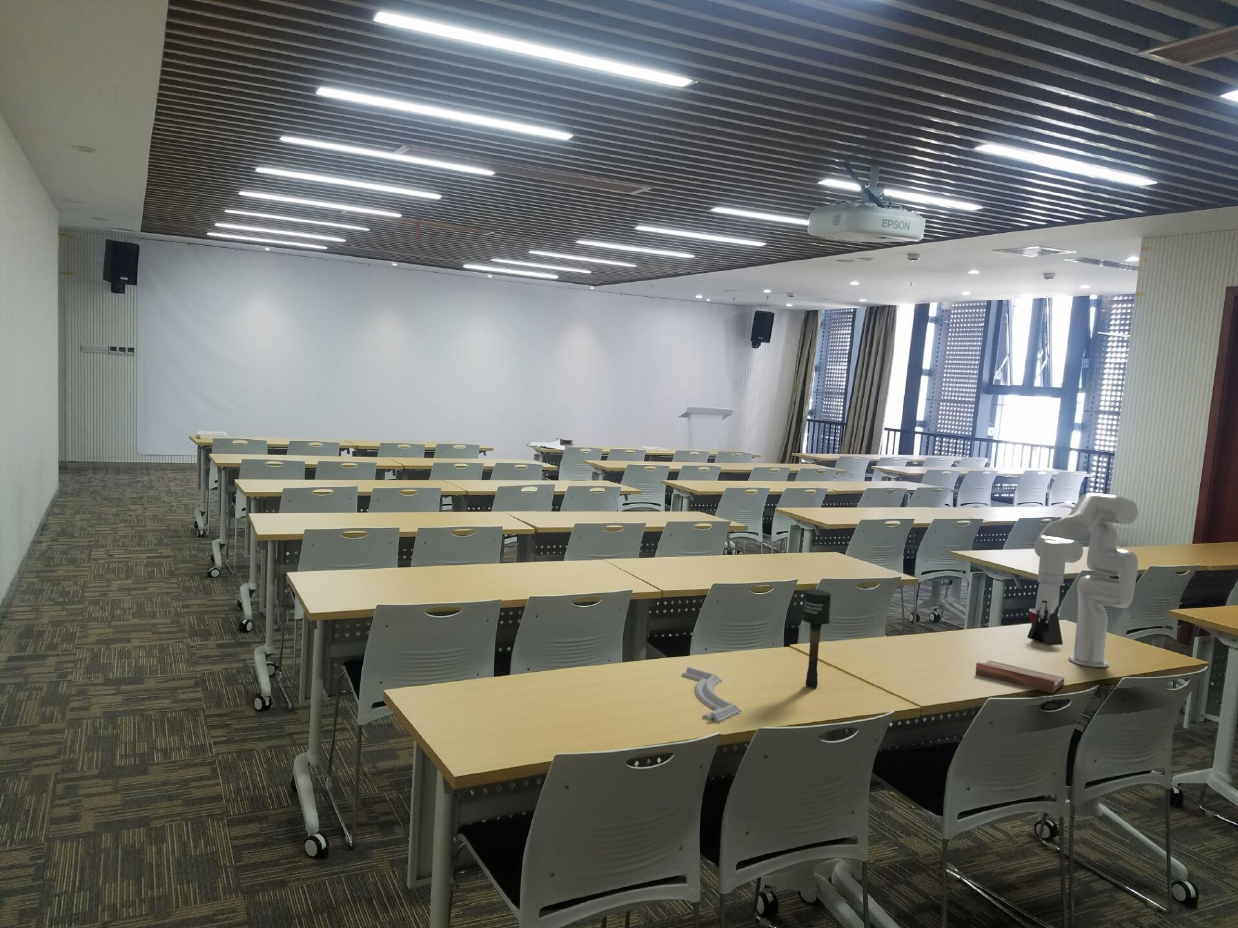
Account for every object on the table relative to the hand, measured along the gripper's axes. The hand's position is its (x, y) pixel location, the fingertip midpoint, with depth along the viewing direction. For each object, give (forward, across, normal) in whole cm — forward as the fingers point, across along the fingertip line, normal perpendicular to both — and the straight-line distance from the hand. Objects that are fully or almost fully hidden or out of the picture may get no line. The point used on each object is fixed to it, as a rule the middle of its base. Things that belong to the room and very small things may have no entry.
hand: (1045, 632), depth 283 cm
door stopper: (+3, 0, 0) cm, 3 cm away
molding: (+18, +95, -69) cm, 118 cm away
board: (+17, 0, -6) cm, 19 cm away
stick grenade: (+18, +62, -50) cm, 82 cm away
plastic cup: (+17, -58, -14) cm, 62 cm away
